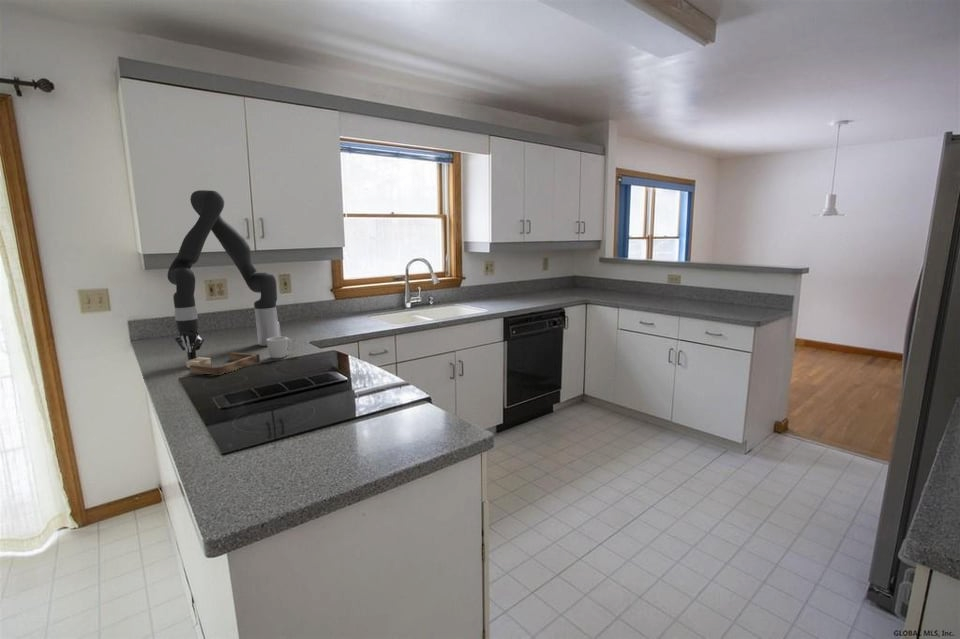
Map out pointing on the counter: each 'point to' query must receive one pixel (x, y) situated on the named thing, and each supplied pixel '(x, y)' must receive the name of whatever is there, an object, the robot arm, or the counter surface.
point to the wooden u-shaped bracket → (239, 362)
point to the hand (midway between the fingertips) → (192, 360)
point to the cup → (278, 346)
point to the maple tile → (199, 361)
